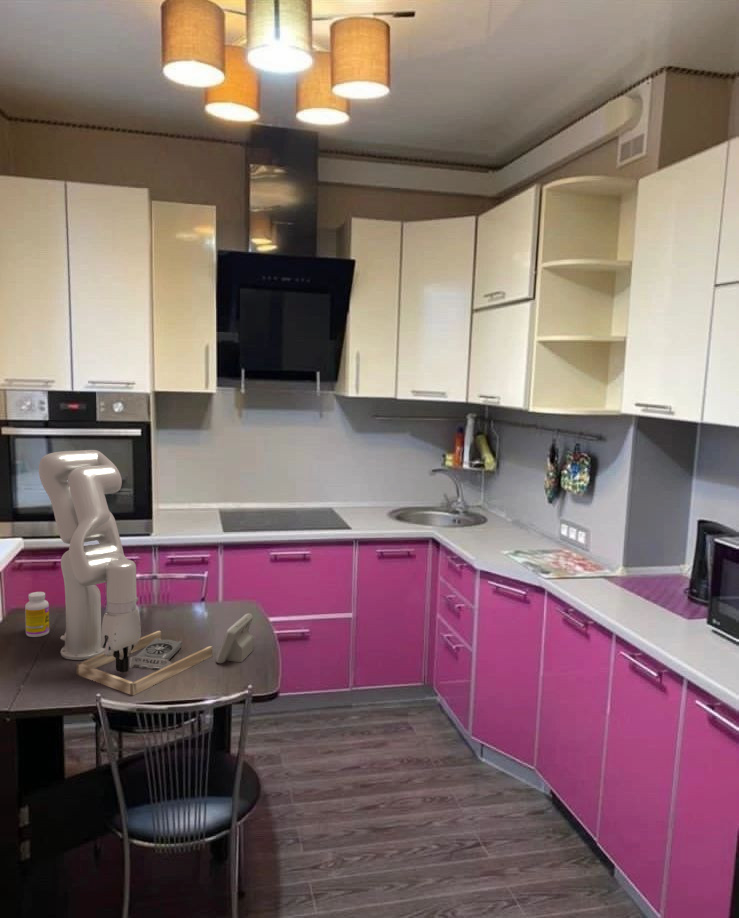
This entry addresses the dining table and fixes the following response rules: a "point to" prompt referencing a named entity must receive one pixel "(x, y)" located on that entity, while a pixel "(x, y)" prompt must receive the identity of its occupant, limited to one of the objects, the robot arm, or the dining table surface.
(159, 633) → the wooden u-shaped frame
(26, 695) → the dining table surface
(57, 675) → the dining table surface
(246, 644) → the digital clock
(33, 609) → the supplement bottle
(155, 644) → the graphics card
